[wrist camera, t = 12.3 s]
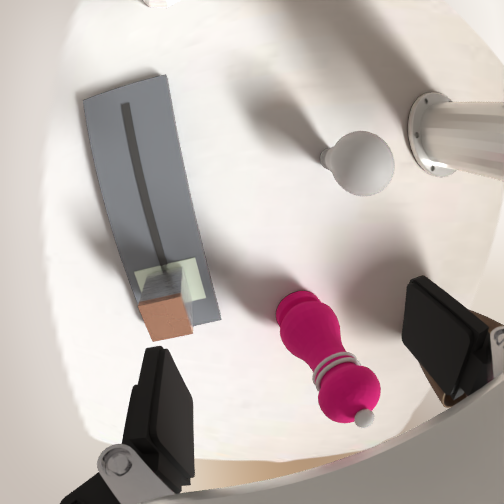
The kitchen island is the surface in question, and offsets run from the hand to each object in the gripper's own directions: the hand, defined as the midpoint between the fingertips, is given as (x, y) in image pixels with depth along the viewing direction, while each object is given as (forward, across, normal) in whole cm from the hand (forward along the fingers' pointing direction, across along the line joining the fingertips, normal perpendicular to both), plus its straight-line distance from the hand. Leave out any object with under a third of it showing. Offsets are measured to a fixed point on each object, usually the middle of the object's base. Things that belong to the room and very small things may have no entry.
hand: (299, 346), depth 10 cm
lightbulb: (+25, -11, -3) cm, 27 cm away
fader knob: (+21, +9, +6) cm, 24 cm away
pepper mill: (+24, -5, +16) cm, 29 cm away
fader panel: (+24, +9, -2) cm, 25 cm away
